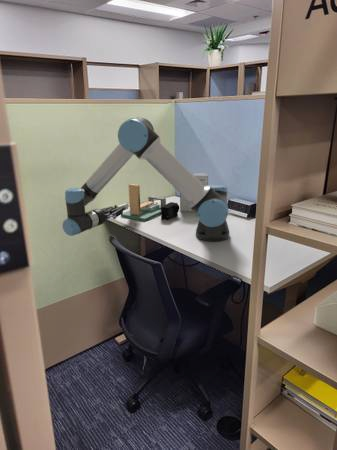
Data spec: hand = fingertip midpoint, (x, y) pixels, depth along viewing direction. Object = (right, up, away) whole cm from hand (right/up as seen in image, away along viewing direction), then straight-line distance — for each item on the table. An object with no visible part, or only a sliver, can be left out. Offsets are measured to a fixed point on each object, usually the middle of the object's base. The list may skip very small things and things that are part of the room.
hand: (126, 206), depth 176 cm
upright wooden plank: (+7, -2, +12) cm, 14 cm away
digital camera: (+22, -6, +7) cm, 24 cm away
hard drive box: (+35, -1, +20) cm, 41 cm away
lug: (+15, +1, +23) cm, 27 cm away
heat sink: (+10, -1, +17) cm, 20 cm away
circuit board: (+9, -3, +16) cm, 18 cm away
